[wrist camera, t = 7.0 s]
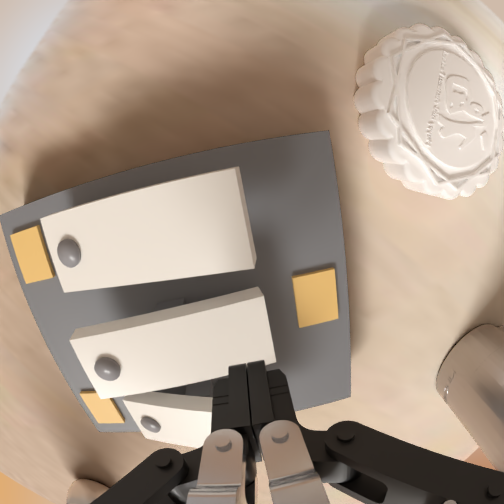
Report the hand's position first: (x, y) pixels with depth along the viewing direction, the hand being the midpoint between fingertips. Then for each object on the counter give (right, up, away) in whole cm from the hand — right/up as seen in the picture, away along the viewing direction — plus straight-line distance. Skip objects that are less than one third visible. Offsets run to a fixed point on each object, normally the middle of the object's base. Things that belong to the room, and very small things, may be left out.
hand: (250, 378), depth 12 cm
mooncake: (+12, +15, +6) cm, 20 cm away
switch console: (-4, +2, +8) cm, 9 cm away
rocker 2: (-3, -5, +5) cm, 7 cm away
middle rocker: (-4, 0, +3) cm, 5 cm away
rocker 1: (-5, +6, +1) cm, 8 cm away
